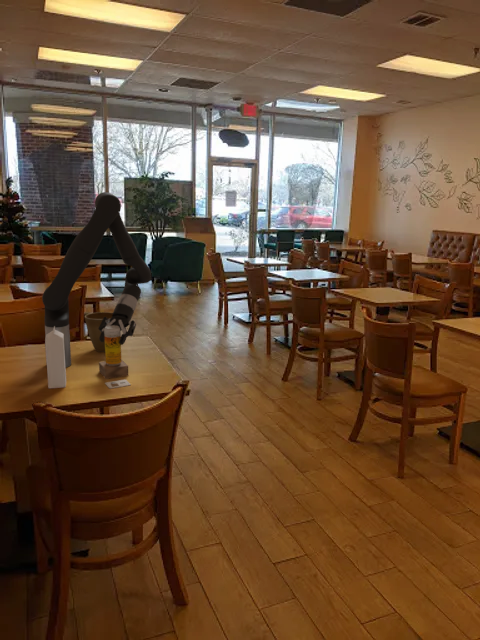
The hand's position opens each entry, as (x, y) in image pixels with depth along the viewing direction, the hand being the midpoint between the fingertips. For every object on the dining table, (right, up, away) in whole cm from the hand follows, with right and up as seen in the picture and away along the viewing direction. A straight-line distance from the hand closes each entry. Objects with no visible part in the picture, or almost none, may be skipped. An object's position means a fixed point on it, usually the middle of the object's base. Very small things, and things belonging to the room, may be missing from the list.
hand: (110, 342), depth 196 cm
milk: (-17, -15, -9) cm, 25 cm away
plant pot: (-12, -5, +35) cm, 37 cm away
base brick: (0, -12, +4) cm, 13 cm away
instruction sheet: (+4, -15, -7) cm, 17 cm away
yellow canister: (0, -9, +4) cm, 9 cm away
